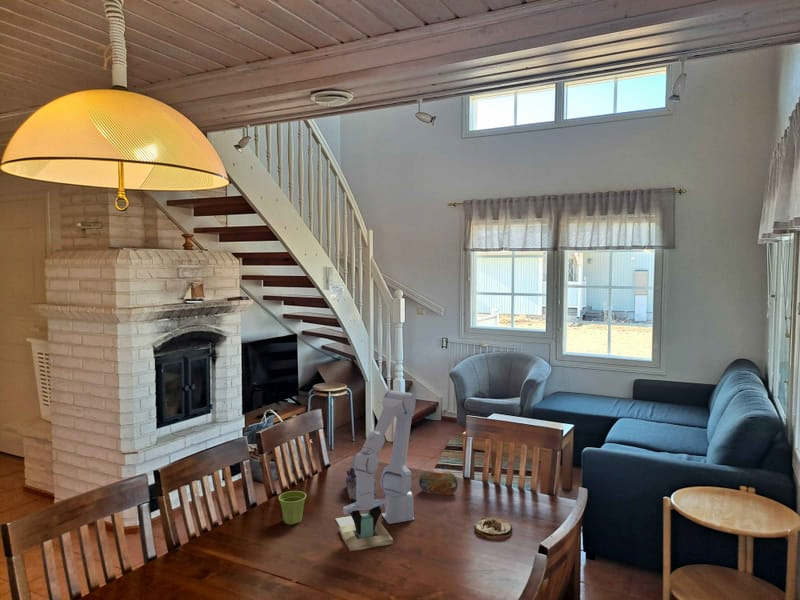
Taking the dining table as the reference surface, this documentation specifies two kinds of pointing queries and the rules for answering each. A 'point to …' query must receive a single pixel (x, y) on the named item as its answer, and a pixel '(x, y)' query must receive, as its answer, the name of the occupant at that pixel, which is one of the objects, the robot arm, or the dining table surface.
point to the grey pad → (345, 521)
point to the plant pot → (292, 506)
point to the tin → (438, 482)
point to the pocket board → (363, 543)
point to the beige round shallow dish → (493, 528)
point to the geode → (353, 484)
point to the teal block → (366, 526)
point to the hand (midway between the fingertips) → (365, 531)
